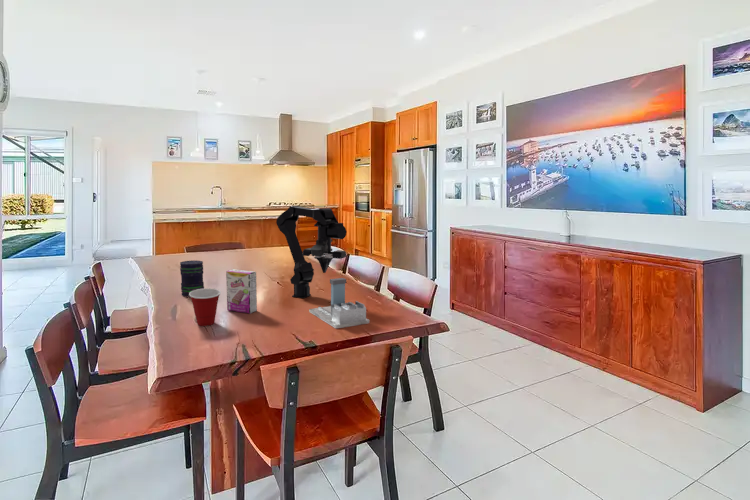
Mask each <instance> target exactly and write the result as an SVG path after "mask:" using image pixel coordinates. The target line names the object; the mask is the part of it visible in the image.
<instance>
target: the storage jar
mask: <svg viewBox="0 0 750 500" xmlns="http://www.w3.org/2000/svg"><path fill="white" fill-rule="evenodd" d="M179 270H180V276H181V283H180V290H181V296H182V297H187V298H188V297H189V298H191V297H190V296H189V292H191V291H193V290H197V289H205V282H204V261H203V260H184V261H180V262H179Z"/></svg>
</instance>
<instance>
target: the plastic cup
mask: <svg viewBox="0 0 750 500" xmlns="http://www.w3.org/2000/svg"><path fill="white" fill-rule="evenodd" d="M221 292H222V291H221V290H220V289H217V288H208V287H207V288H205V287H204V289H197V290H193V291H191V292H189V296H190V297H189V298H190V300H191V303H192V307H193V311H194V316H195V319H196V323H197V326H200V327H205V326H206V327H208V326H212V325H214V324H215V321H216V314H217V310H218V303H219V299H220V295H221ZM207 325H208V326H207Z"/></svg>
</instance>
